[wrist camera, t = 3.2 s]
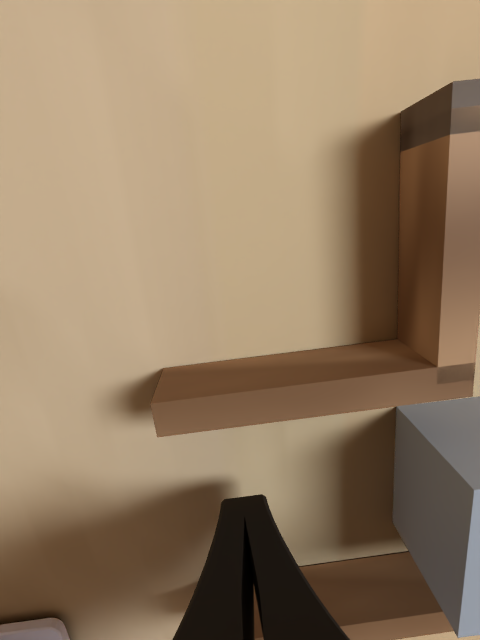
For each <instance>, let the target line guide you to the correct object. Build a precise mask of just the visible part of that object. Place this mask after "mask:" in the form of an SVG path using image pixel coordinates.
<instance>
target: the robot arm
mask: <svg viewBox="0 0 480 640" xmlns="http://www.w3.org/2000/svg"><path fill="white" fill-rule="evenodd" d="M254 589H255V594H256V600H257V605H258V611H259V617H260V622H261V628H262V633H263V639H264V640H350V639H349V638H348V636H347V635H346V634H345V633H344V631H343V630H342V629H341V628H340V626H339V625H338V624H337V622H336V621H335V620H334V618H333V617H332V616H331V614H330V613H329V612H328V610H327V609H326V607H325V606H324V605H323V603H322V602H321V600H320V599H319V597H318V596H317V595H316V593H315V592H314V590H313V589H312V587H311V586H310V584H309V582H308V581H307V579H306V578H305V576H304V574H303V573H302V571H301V570H300V568H299V566H298V565H297V563H296V561H295V560H294V558H293V556H292V554H291V553H290V551H289V549H288V547H287V545H286V543H285V541H284V540H283V538H282V536H281V534H280V532H279V530H278V528H277V525H276V523H275V521H274V519H273V516H272V514H271V511H270V509H269V506H268V503H267V499H266V497H265V496H264V495H262V494H261V495H254V496H246V497H239V498H231V499H224V500H223V502H222V503H221V509H220V514H219V519H218V523H217V527H216V531H215V534H214V538H213V541H212V544H211V547H210V551H209V554H208V557H207V560H206V563H205V566H204V568H203V571H202V573H201V576H200V579H199V581H198V584H197V586H196V589H195V591H194V594H193V596H192V599H191V601H190V603H189V606H188V608H187V610H186V612H185V615H184V617H183V619H182V621H181V623H180V625H179V628H178V630H177V632H176V634H175V636H174V638H173V640H255V637H254ZM0 640H70V639H69V636H68V633H67V630H66V627H65V625H64V624H63V622H62V621H61V620H59V619H57V618H44V619H37V620H30V621H23V622H16V623H9V624H1V625H0Z"/></svg>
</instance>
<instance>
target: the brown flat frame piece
mask: <svg viewBox="0 0 480 640" xmlns="http://www.w3.org/2000/svg"><path fill="white" fill-rule="evenodd" d="M479 314H480V79H473V80H464V81H455V82H452V83H450V84H448V85H446V86H445V87H443V88H441V89H439V90H438V91H436V92H434V93H432V94H431V95H429V96H427V97H425V98H424V99H422V100H420V101H419V102H417V103H415V104H413V105H412V106H410V107H408V108H406V109H405V110H403V111H401V145H400V204H399V263H398V322H397V339H394V340H386V341H378V342H370V343H362V344H354V345H346V346H338V347H330V348H322V349H314V350H306V351H298V352H290V353H282V354H274V355H266V356H258V357H250V358H242V359H234V360H226V361H218V362H210V363H202V364H194V365H186V366H178V367H171V368H163V371H162V374H161V376H160V379H159V382H158V384H157V387H156V390H155V393H154V395H153V398H152V401H151V403H150V404H151V409H152V414H153V419H154V424H155V428H156V433H157V437H163V436H171V435H179V434H187V433H194V432H202V431H210V430H218V429H225V428H233V427H241V426H249V425H256V424H264V423H272V422H279V421H287V420H295V419H303V418H310V417H318V416H326V415H334V414H341V413H349V412H357V411H365V410H372V409H380V408H388V407H395V406H403V405H411V404H419V403H426V402H434V401H442V400H450V399H457V398H465V397H472V396H473V384H474V372H475V361H476V349H477V337H478V326H479ZM299 568H300V570H301V571H302V573H303V574H304V576H305V578H306V579H307V581H308V582H309V584H310V586H311V587H312V589H313V590H314V592H315V593H316V595H317V596H318V597H319V599H320V600H321V602H322V603H323V605H324V606H325V607H326V609H327V610H328V612H329V613H330V614H331V616H332V617H333V618H334V620H335V621H336V622H337V624H338V625H339V626H340V628H341V629H342V630H343V631H344V633H345V634H346V635H347V636H348V638H349V639H350V640H395V639H402V638H409V637H416V636H423V635H430V634H437V633H444V632H451V631H454V630H453V628H452V626H451V625H450V623H449V621H448V619H447V618H446V616H445V614H444V612H443V611H442V609H441V607H440V605H439V603H438V602H437V600H436V598H435V596H434V595H433V593H432V591H431V589H430V588H429V586H428V584H427V582H426V580H425V579H424V577H423V575H422V573H421V572H420V570H419V568H418V566H417V565H416V563H415V561H414V559H413V557H412V556H411V554H410V552H405V553H398V554H390V555H383V556H376V557H369V558H361V559H354V560H347V561H340V562H333V563H325V564H318V565H311V566H304V567H299ZM254 637H255V640H264V639H263V633H262V628H261V622H260V617H259V611H258V605H257V600H256V594H255V589H254Z"/></svg>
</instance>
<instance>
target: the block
mask: <svg viewBox="0 0 480 640" xmlns="http://www.w3.org/2000/svg"><path fill="white" fill-rule="evenodd" d="M393 524H394V526H395V527H396V529H397V531H398V533H399V534H400V536H401V538H402V540H403V542H404V543H405V545H406V547H407V549H408V550H409V552H410V554H411V556H412V557H413V559H414V561H415V563H416V565H417V566H418V568H419V570H420V572H421V573H422V575H423V577H424V579H425V580H426V582H427V584H428V586H429V588H430V589H431V591H432V593H433V595H434V596H435V598H436V600H437V602H438V603H439V605H440V607H441V609H442V611H443V612H444V614H445V616H446V618H447V619H448V621H449V623H450V625H451V626H452V628H453V630H454V632H455V634H456V635H457V637H458V638H460V637H467V636H475V635H480V397H471V398H463V399H454V400H445V401H437V402H428V403H420V404H411V405H403V406H396V432H395V463H394V494H393Z"/></svg>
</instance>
